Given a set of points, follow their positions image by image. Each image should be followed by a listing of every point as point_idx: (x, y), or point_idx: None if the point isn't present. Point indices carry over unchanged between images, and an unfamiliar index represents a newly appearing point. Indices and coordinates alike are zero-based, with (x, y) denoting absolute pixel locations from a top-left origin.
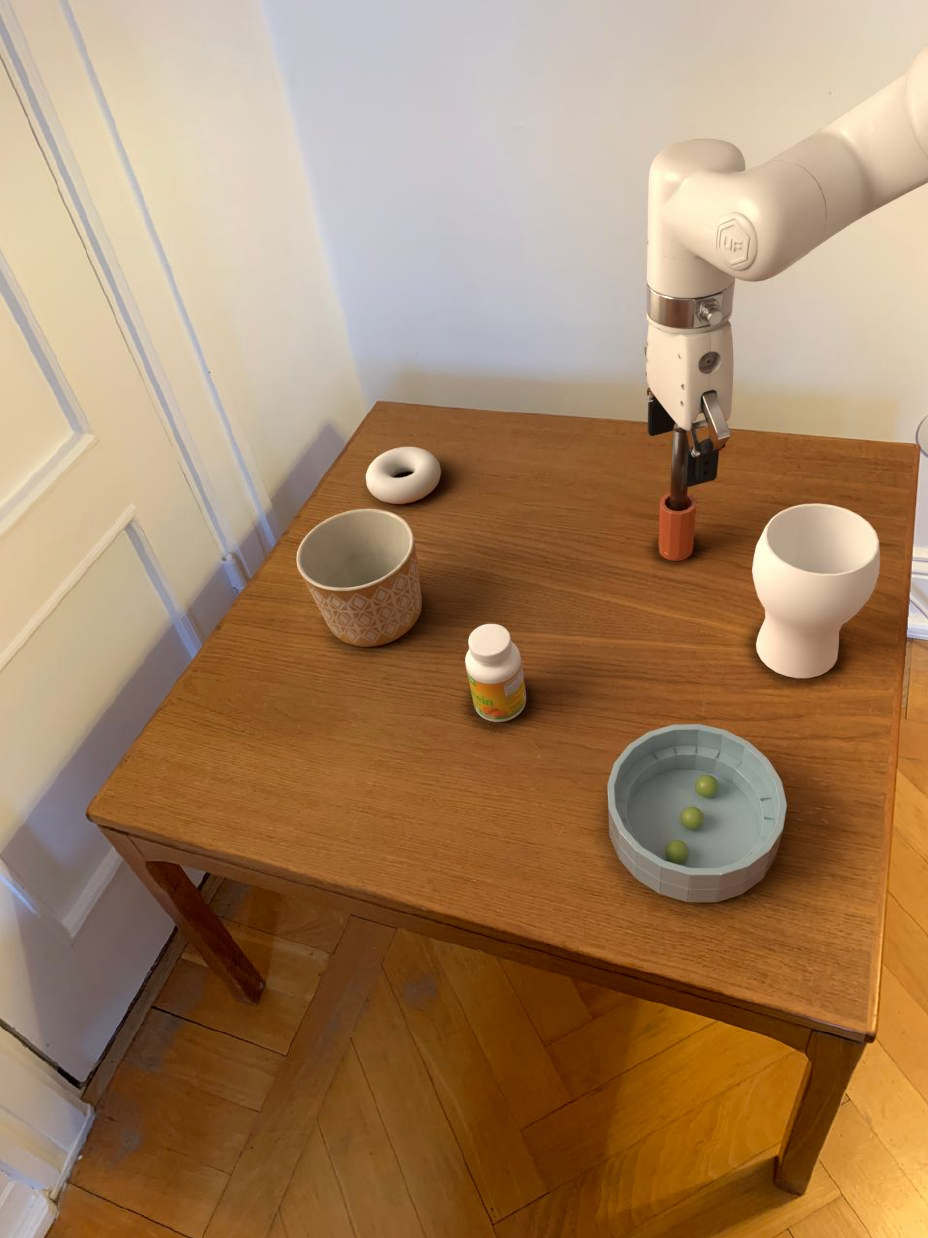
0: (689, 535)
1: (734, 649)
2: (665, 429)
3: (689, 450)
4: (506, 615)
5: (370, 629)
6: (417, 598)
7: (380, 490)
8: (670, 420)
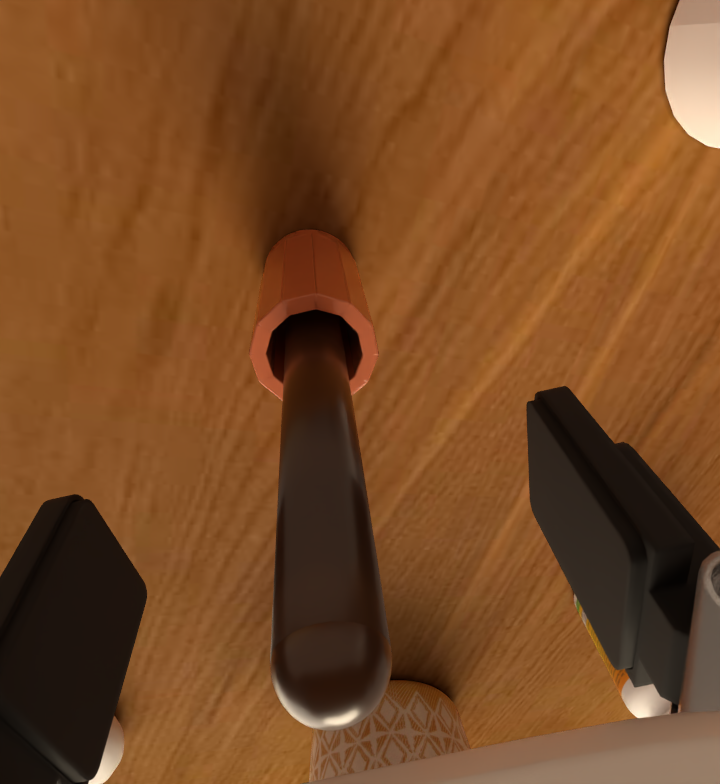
0: (357, 279)
1: (688, 203)
2: (113, 558)
3: (352, 501)
4: (434, 583)
5: None
6: (422, 723)
7: (109, 776)
8: (80, 579)
